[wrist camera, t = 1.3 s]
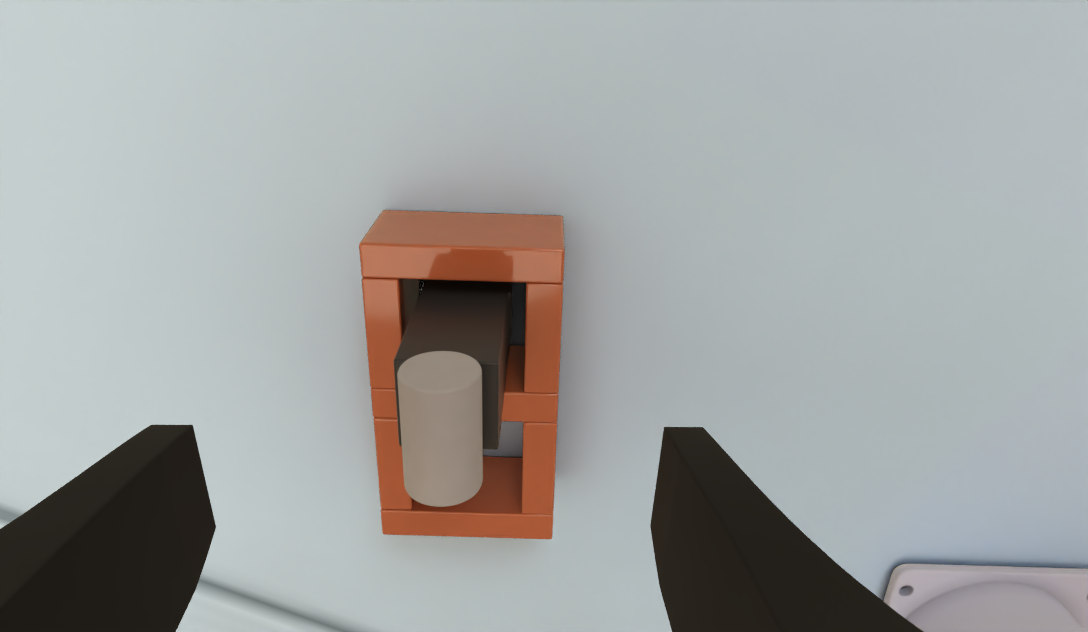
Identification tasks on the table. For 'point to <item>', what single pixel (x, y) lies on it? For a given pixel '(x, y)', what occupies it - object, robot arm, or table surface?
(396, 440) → the holder
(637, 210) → the table surface
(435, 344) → the block with cylinder
